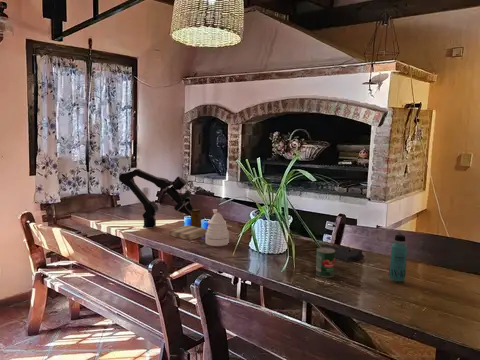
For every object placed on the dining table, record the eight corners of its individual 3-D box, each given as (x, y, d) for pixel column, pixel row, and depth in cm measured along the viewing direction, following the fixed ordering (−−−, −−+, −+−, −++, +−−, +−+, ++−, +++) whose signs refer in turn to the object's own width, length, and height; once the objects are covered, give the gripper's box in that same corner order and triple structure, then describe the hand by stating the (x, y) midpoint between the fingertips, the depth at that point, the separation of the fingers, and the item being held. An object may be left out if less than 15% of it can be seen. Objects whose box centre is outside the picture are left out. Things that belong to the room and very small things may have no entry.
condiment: (197, 227, 262) (197, 208, 261) (205, 229, 256) (205, 210, 254) (187, 228, 258) (187, 209, 256) (195, 231, 251) (195, 212, 250)
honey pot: (200, 242, 228) (200, 210, 225) (217, 238, 237) (217, 207, 235) (216, 247, 219) (217, 213, 217) (233, 242, 228) (234, 210, 226)
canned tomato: (321, 269, 187) (322, 246, 186) (337, 274, 182) (338, 249, 181) (312, 274, 181) (313, 250, 180) (328, 279, 176) (330, 253, 175)
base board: (169, 235, 241) (169, 230, 240) (187, 230, 254) (187, 225, 253) (190, 240, 232) (190, 234, 231) (208, 234, 245) (208, 229, 245)
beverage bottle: (385, 279, 177) (388, 233, 175) (400, 278, 178) (404, 233, 175) (392, 284, 171) (395, 237, 168) (408, 284, 172) (411, 237, 169)
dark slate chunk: (328, 248, 223) (328, 239, 222) (366, 257, 208) (367, 248, 207) (312, 254, 212) (312, 245, 211) (351, 264, 197) (352, 254, 196)
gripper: (179, 188, 245) (197, 207, 245) (188, 184, 264) (205, 202, 263) (166, 201, 247) (184, 220, 247) (176, 196, 266) (193, 213, 265)
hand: (192, 213), depth 256 cm, fingers open, 9 cm apart
